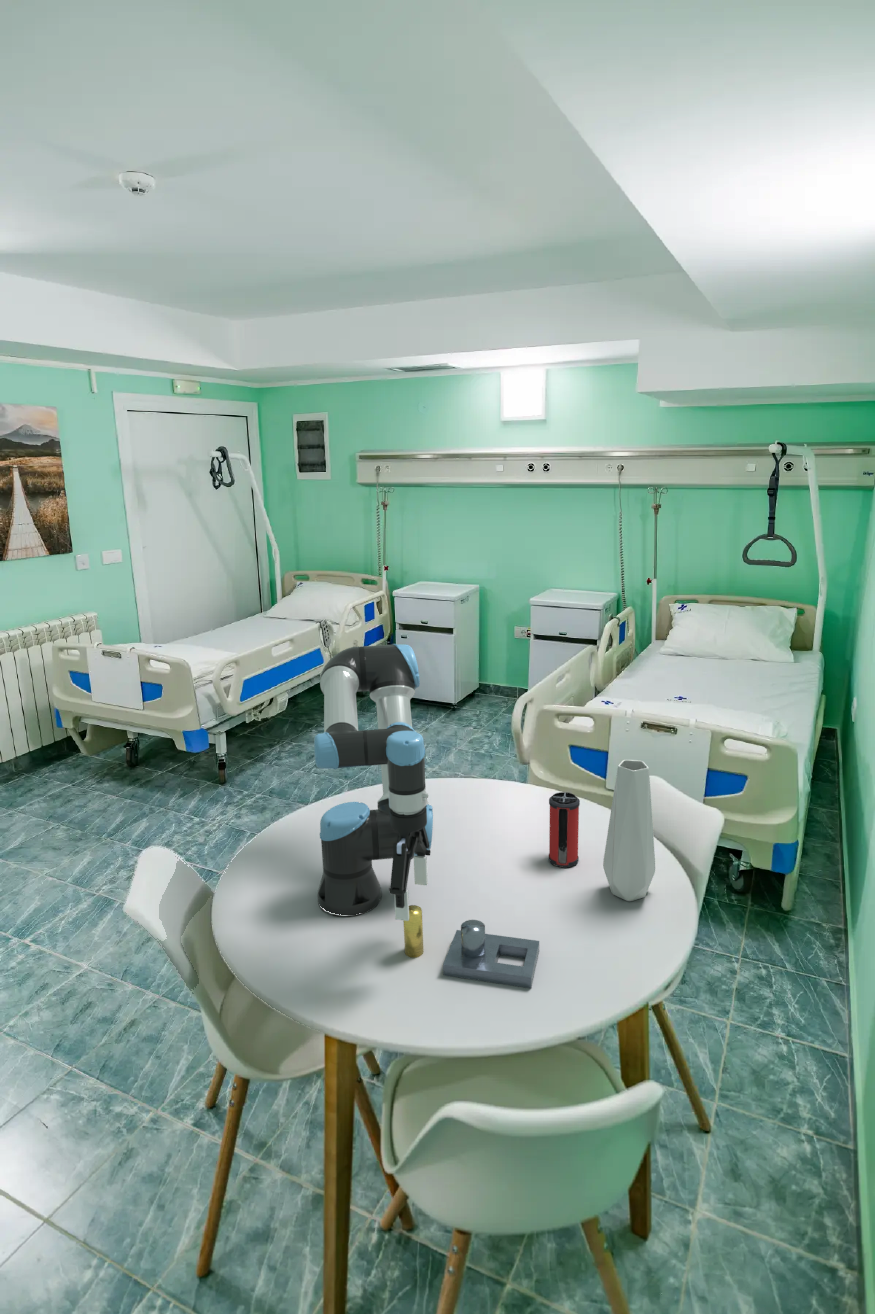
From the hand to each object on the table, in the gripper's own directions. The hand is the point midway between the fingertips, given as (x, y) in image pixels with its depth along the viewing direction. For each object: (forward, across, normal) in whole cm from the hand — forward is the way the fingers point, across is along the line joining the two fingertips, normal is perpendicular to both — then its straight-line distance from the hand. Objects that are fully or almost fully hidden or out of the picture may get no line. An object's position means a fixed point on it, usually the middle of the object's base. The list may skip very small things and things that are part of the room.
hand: (412, 901), depth 158 cm
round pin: (+12, 0, 0) cm, 13 cm away
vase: (+12, +34, -43) cm, 56 cm away
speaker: (+12, +45, -27) cm, 54 cm away
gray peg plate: (+13, 0, -17) cm, 21 cm away
